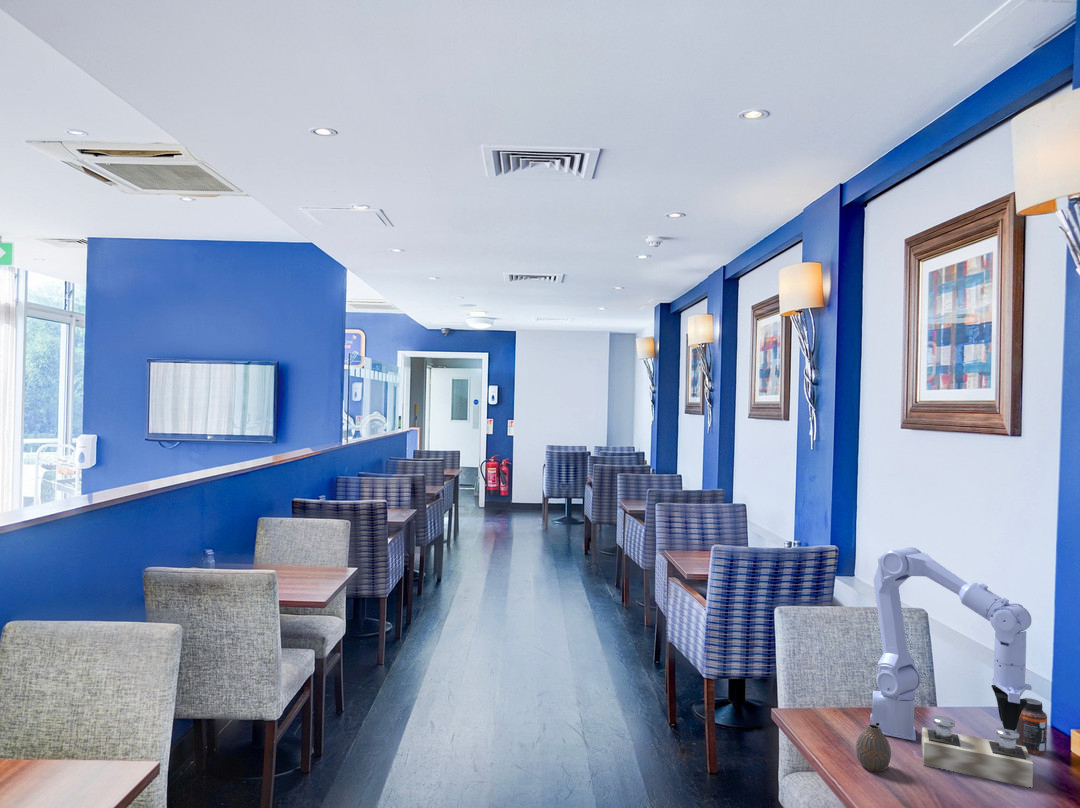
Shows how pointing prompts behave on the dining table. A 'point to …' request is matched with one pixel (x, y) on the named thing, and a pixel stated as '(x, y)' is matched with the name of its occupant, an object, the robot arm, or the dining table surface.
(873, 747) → the vase
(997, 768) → the birch bar
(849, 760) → the dining table surface
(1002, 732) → the dowel right
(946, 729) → the dowel left
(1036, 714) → the supplement bottle
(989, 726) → the dining table surface
